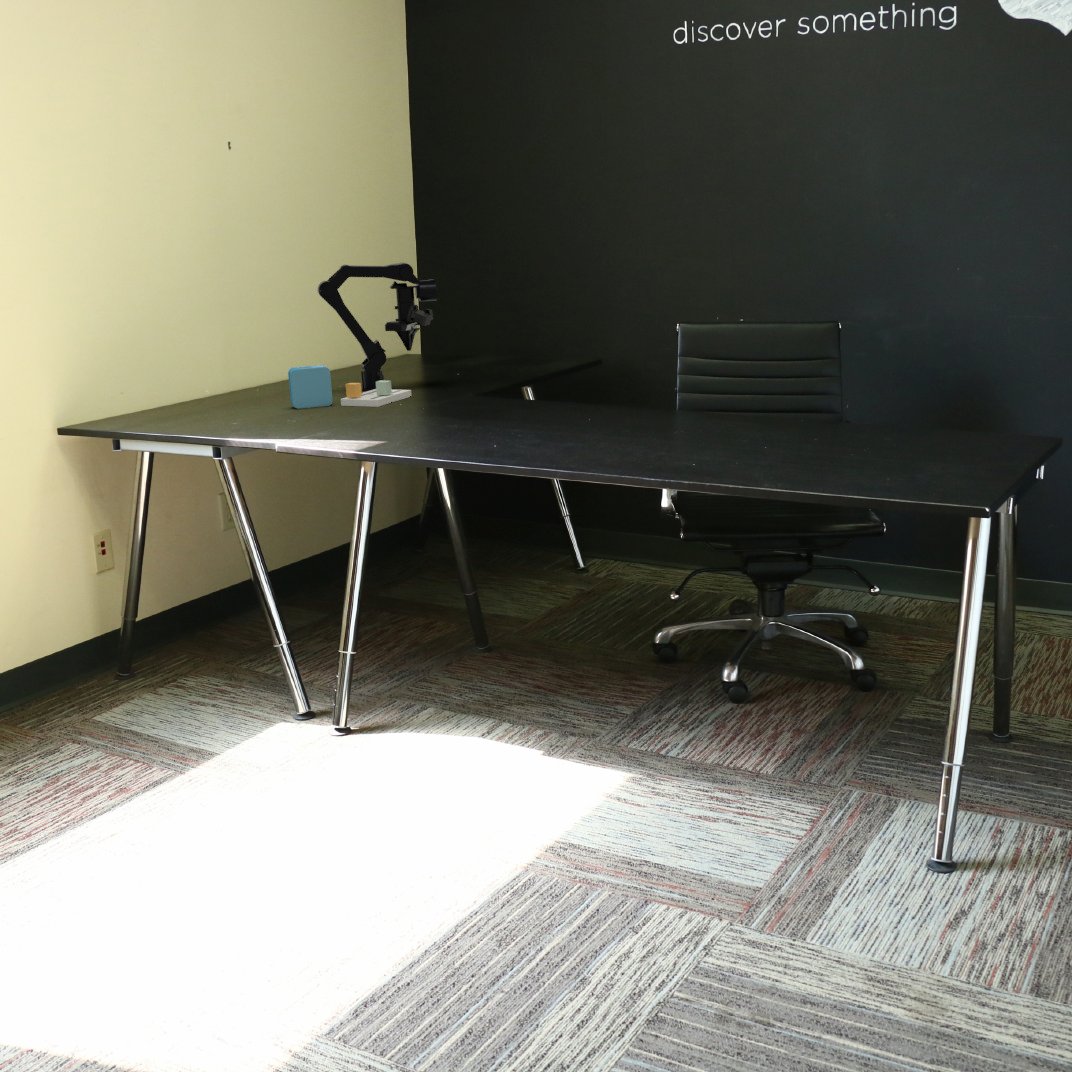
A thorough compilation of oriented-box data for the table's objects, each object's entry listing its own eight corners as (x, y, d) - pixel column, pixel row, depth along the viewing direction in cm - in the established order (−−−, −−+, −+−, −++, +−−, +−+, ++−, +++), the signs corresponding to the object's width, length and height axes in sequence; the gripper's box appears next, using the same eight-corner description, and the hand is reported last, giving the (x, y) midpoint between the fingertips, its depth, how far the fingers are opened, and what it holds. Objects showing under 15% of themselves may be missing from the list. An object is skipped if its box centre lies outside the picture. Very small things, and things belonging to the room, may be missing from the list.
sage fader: (376, 394, 359) (375, 381, 358) (381, 393, 362) (380, 380, 360) (386, 395, 357) (385, 382, 356) (391, 393, 360) (390, 380, 359)
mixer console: (341, 405, 356) (340, 398, 356) (376, 395, 374) (375, 388, 373) (377, 406, 351) (377, 399, 350) (411, 396, 368) (411, 389, 368)
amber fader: (346, 397, 357) (345, 384, 355) (352, 395, 359) (350, 382, 358) (356, 397, 355) (355, 384, 354) (362, 396, 358) (360, 383, 357)
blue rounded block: (330, 403, 361) (326, 364, 358) (333, 405, 357) (329, 366, 354) (291, 407, 357) (287, 367, 354) (293, 409, 353) (289, 369, 350)
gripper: (412, 304, 369) (415, 354, 374) (441, 299, 386) (444, 347, 390) (382, 304, 374) (385, 354, 378) (412, 299, 390) (415, 347, 395)
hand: (409, 350), depth 385 cm, fingers closed
